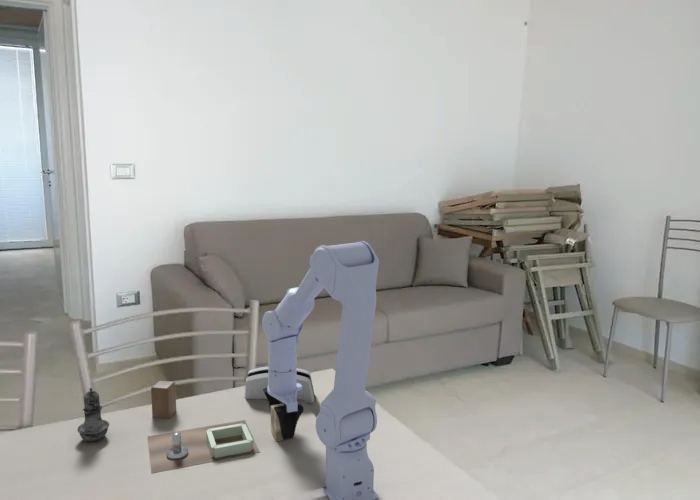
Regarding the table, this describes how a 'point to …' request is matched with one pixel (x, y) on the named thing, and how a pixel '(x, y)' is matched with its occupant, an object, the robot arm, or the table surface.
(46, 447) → the table surface
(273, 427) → the maple peg
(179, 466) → the walnut board
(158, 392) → the wooden block
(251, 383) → the white rounded block
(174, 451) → the metal post
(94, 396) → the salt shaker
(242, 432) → the socket collar
